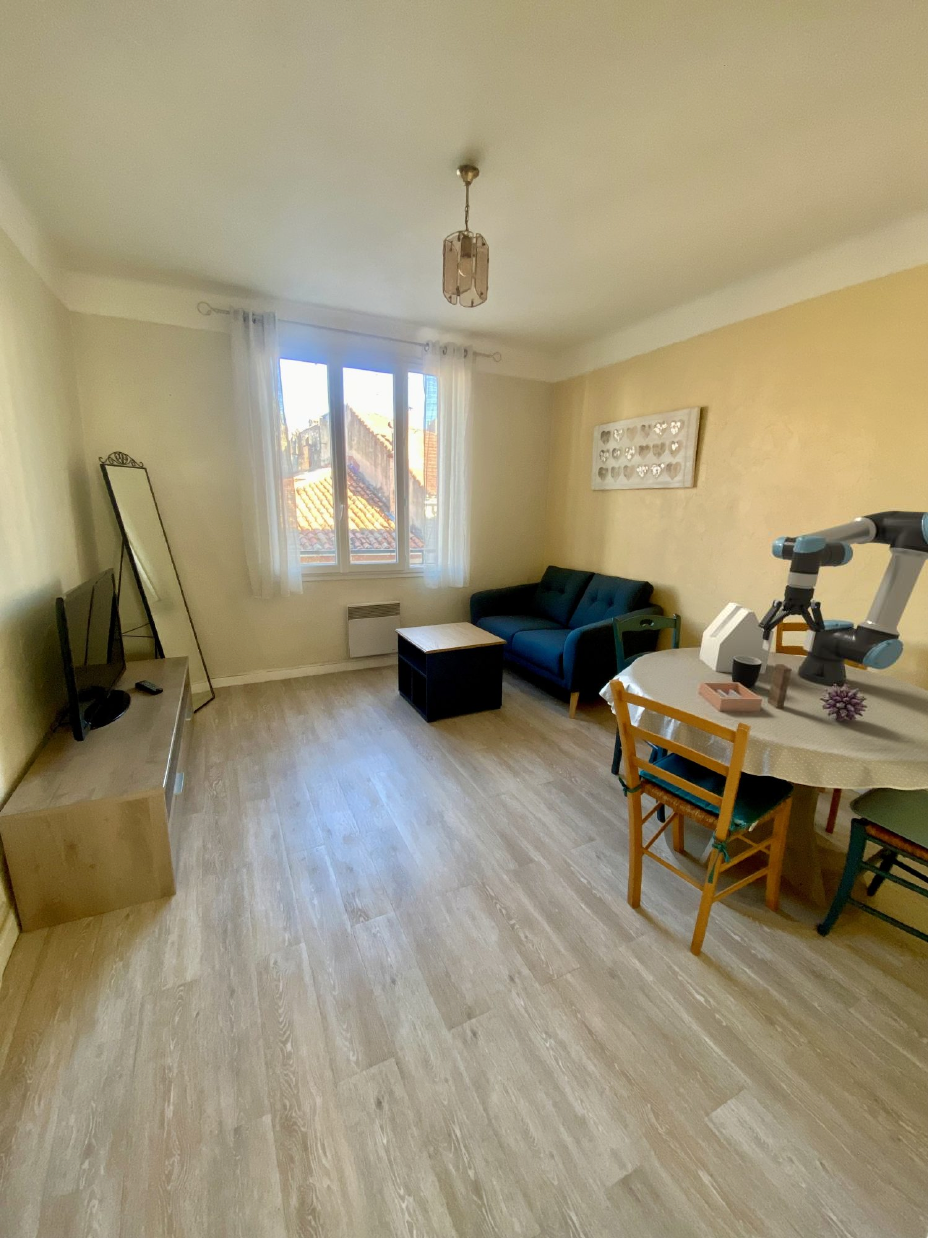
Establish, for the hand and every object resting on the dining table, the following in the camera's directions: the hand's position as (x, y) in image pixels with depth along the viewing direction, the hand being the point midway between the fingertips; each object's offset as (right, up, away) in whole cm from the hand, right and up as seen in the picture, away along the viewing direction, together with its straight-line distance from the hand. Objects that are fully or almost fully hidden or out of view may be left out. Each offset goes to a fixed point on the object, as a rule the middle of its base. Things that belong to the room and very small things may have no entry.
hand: (786, 649), depth 155 cm
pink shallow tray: (-15, -18, +7) cm, 25 cm away
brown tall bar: (0, -19, +5) cm, 20 cm away
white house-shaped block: (+5, -9, +41) cm, 43 cm away
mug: (-2, -14, +23) cm, 27 cm away
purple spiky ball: (+14, -22, -4) cm, 27 cm away
